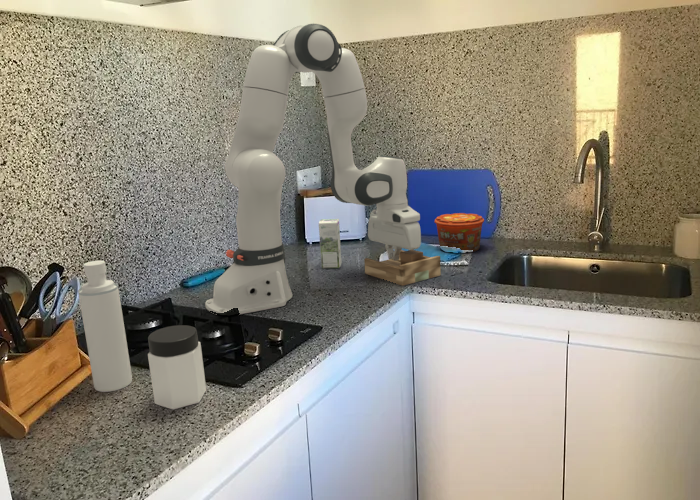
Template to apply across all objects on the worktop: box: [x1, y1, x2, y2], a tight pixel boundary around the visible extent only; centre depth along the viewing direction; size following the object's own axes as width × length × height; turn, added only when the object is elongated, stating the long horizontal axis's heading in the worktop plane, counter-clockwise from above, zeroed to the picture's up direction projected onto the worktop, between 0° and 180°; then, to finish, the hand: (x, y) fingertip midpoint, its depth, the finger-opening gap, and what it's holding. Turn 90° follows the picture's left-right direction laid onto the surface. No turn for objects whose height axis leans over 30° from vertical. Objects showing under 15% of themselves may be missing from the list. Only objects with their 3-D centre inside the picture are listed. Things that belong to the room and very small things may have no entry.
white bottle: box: [77, 259, 133, 393], centre depth 109 cm, size 7×7×25 cm
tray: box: [363, 249, 442, 286], centre depth 172 cm, size 14×17×6 cm
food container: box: [433, 212, 485, 253], centre depth 197 cm, size 16×16×11 cm
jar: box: [147, 324, 207, 411], centre depth 104 cm, size 9×8×12 cm
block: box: [400, 249, 424, 265], centre depth 169 cm, size 4×4×4 cm
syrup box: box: [318, 218, 342, 269], centre depth 184 cm, size 6×6×14 cm
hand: (393, 259), depth 174 cm, fingers closed
